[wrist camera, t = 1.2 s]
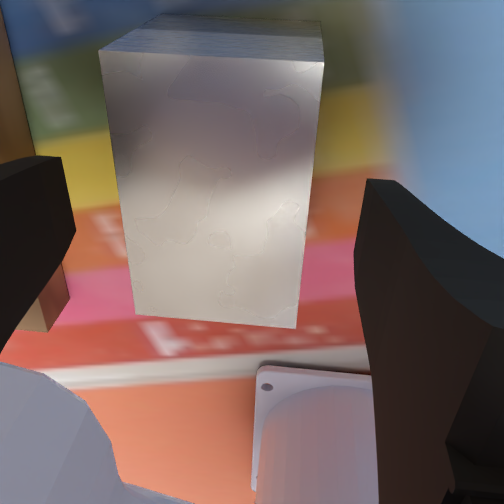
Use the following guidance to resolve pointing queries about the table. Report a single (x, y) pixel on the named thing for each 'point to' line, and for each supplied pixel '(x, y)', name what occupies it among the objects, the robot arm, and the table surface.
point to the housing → (215, 162)
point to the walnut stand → (15, 147)
